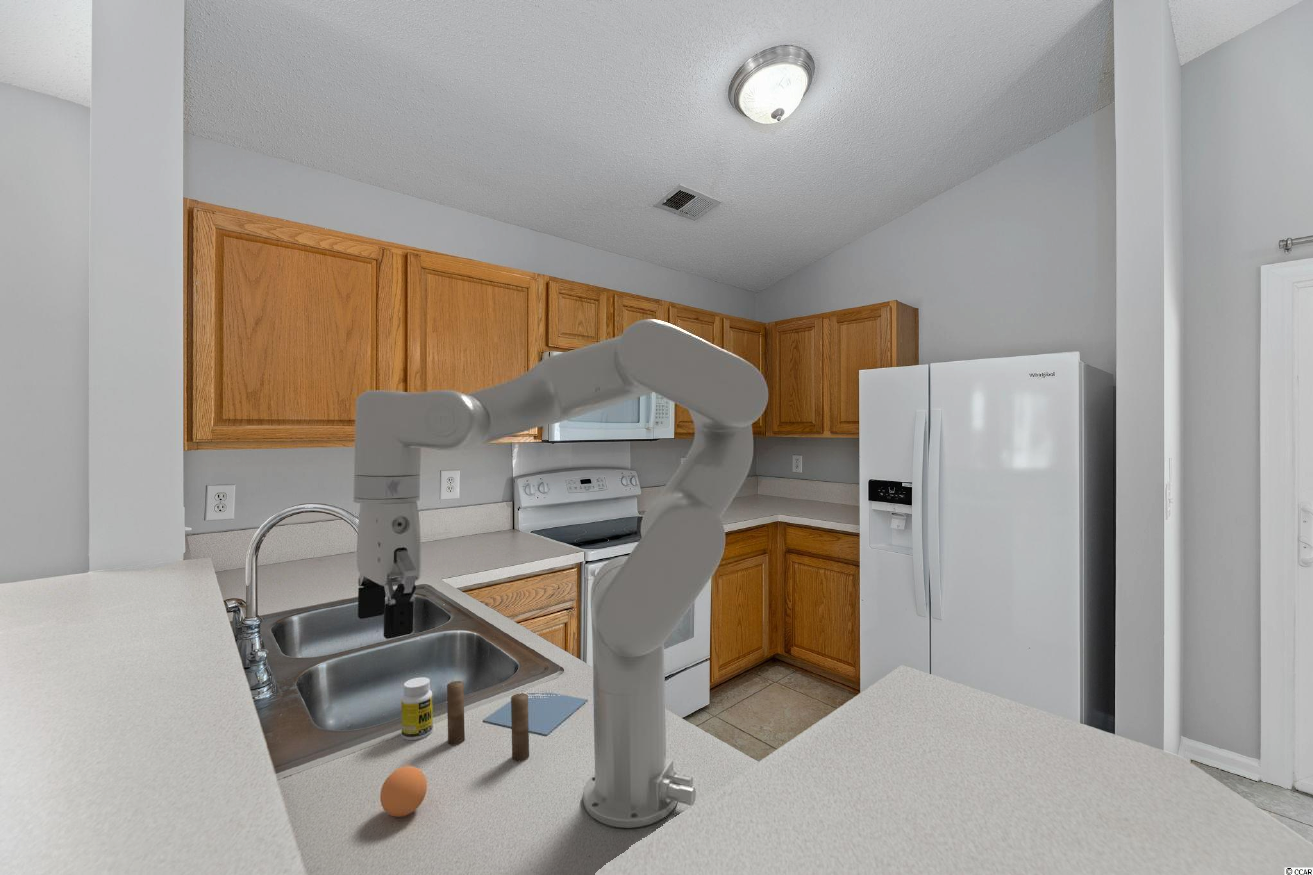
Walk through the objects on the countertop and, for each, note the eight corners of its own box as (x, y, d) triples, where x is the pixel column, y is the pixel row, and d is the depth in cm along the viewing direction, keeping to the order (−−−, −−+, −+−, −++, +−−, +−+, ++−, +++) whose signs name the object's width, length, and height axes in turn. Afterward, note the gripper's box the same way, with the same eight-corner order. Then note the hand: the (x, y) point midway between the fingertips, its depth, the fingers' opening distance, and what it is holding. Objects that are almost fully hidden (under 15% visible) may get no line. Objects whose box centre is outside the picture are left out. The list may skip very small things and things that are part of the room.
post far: (468, 738, 90) (466, 682, 90) (456, 746, 88) (455, 688, 88) (456, 735, 91) (454, 679, 91) (444, 743, 89) (443, 686, 89)
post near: (532, 753, 85) (531, 694, 85) (522, 762, 83) (521, 701, 83) (519, 750, 86) (517, 692, 86) (508, 759, 84) (507, 699, 84)
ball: (436, 804, 74) (435, 762, 74) (402, 831, 69) (401, 786, 69) (405, 794, 76) (405, 754, 76) (370, 820, 71) (369, 776, 71)
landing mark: (587, 700, 102) (587, 699, 102) (546, 735, 90) (546, 734, 90) (528, 689, 107) (528, 688, 107) (482, 721, 96) (482, 720, 96)
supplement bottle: (421, 742, 89) (420, 689, 89) (395, 739, 90) (394, 687, 90) (438, 727, 94) (438, 676, 94) (413, 724, 95) (412, 675, 95)
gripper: (445, 493, 67) (442, 637, 67) (394, 483, 79) (391, 604, 79) (378, 496, 62) (375, 652, 61) (334, 485, 74) (331, 615, 74)
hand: (384, 625), depth 70 cm, fingers open, 9 cm apart
